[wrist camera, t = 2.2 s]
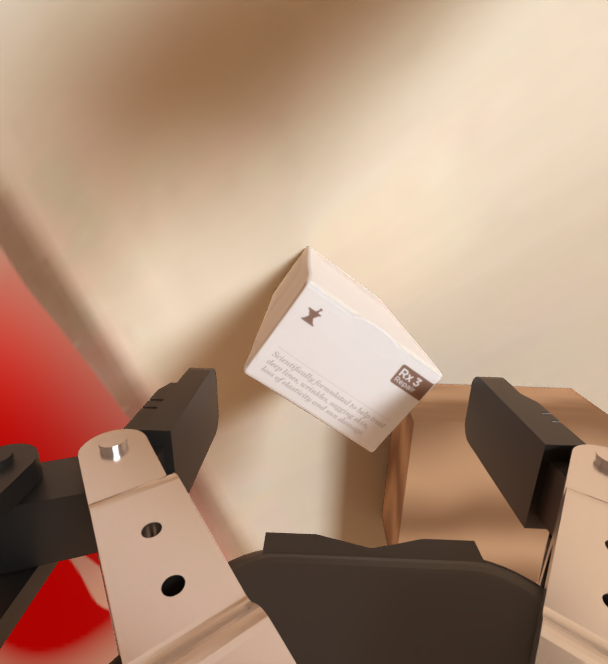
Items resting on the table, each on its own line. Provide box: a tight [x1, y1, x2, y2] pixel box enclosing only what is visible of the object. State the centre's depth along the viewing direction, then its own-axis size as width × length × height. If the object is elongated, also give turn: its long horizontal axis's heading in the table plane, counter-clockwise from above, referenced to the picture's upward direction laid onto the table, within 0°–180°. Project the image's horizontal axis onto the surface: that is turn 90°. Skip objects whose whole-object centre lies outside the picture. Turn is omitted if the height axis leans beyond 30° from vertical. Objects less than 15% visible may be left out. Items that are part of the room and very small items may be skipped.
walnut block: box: [382, 384, 608, 583], centre depth 25 cm, size 12×12×5 cm
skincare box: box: [244, 246, 442, 452], centre depth 19 cm, size 6×4×12 cm
